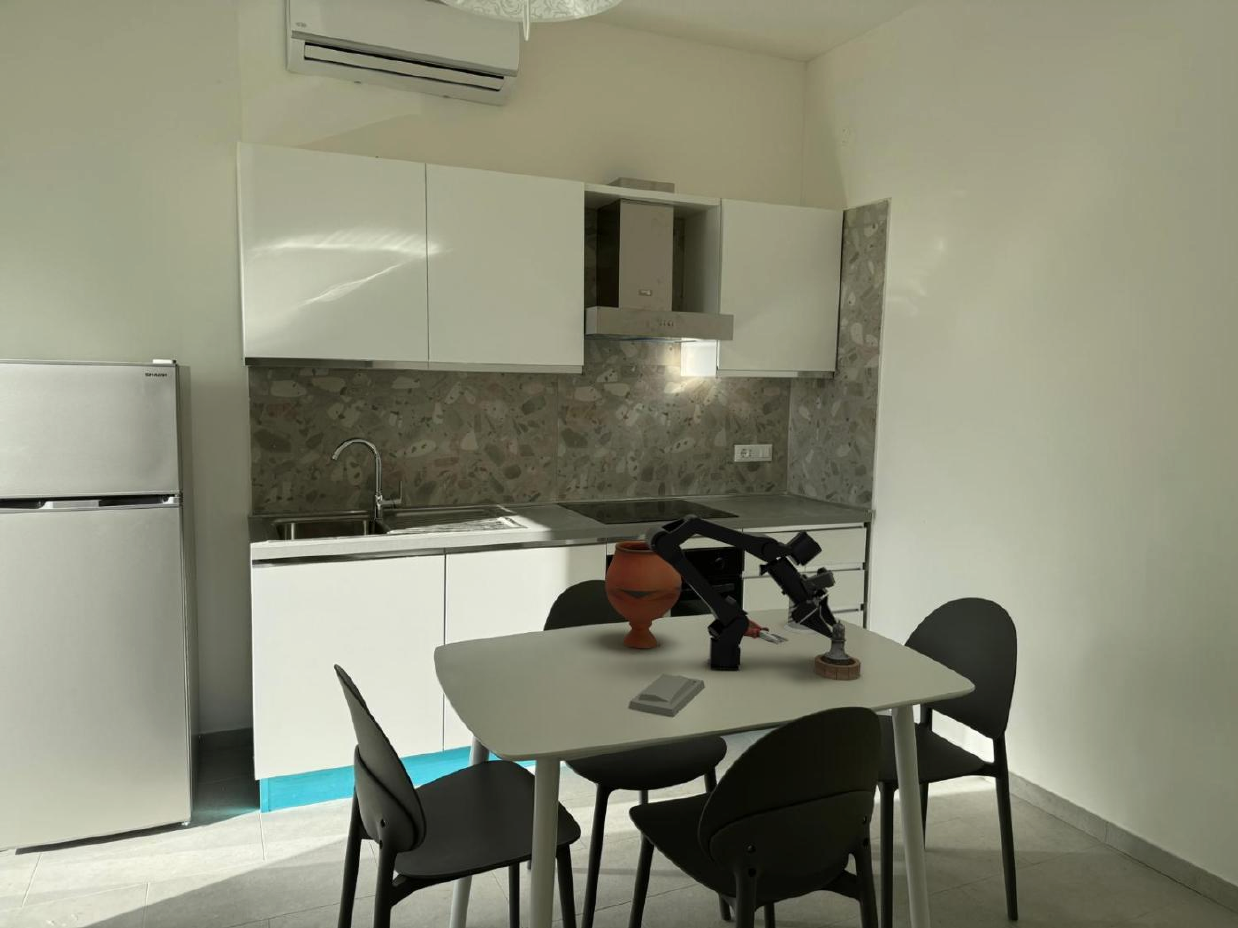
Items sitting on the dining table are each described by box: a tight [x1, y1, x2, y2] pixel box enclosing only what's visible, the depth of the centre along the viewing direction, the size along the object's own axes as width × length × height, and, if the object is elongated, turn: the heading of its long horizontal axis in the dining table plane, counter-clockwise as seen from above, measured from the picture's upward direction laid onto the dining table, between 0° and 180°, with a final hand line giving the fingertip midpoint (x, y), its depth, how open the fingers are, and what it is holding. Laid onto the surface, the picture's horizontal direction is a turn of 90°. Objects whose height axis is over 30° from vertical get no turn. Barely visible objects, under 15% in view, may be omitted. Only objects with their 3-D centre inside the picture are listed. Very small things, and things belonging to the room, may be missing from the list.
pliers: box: [743, 619, 789, 644], centre depth 237 cm, size 12×20×3 cm, turn 40°
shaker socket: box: [813, 653, 862, 681], centre depth 207 cm, size 10×10×3 cm
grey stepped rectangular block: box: [627, 673, 706, 718], centre depth 187 cm, size 10×20×4 cm, turn 156°
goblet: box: [604, 540, 682, 649], centre depth 224 cm, size 19×19×25 cm
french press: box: [783, 564, 826, 635], centre depth 243 cm, size 10×12×25 cm
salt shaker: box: [823, 619, 851, 666], centre depth 206 cm, size 6×6×12 cm
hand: (834, 631), depth 206 cm, fingers open, 9 cm apart
